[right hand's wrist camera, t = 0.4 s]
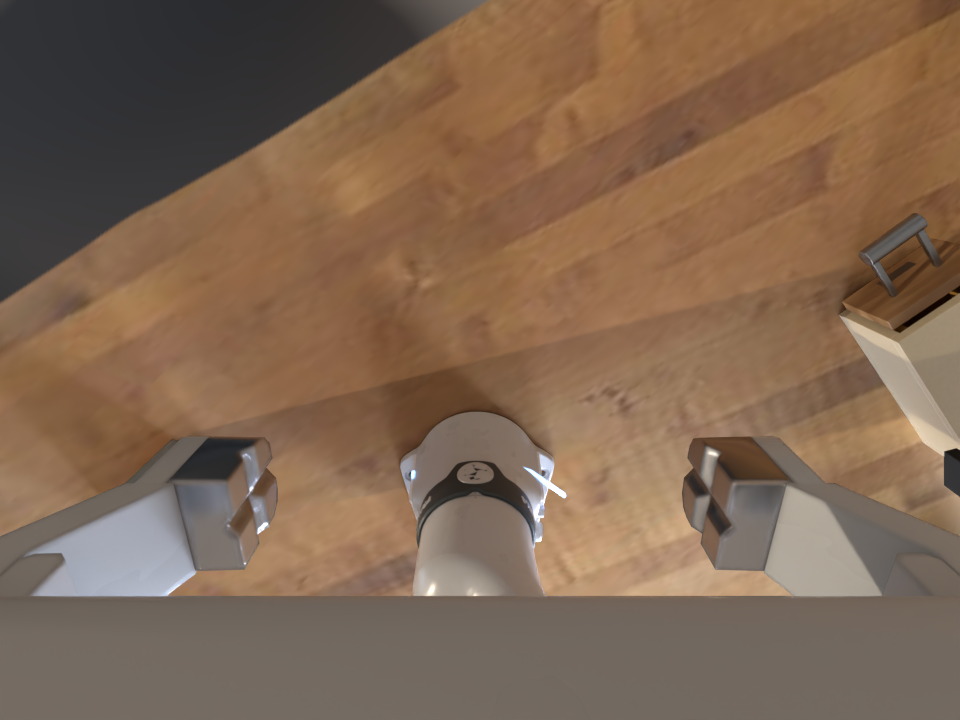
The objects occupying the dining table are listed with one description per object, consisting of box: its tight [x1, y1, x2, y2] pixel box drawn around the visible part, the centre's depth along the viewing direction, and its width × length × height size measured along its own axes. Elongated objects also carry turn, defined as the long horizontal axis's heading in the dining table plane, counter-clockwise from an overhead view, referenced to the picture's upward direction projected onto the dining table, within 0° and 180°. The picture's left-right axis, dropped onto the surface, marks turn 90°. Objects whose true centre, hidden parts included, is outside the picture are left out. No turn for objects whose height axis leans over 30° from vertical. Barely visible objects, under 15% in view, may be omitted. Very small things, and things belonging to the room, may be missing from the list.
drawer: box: [842, 213, 960, 333], centre depth 55 cm, size 27×10×7 cm, turn 42°
